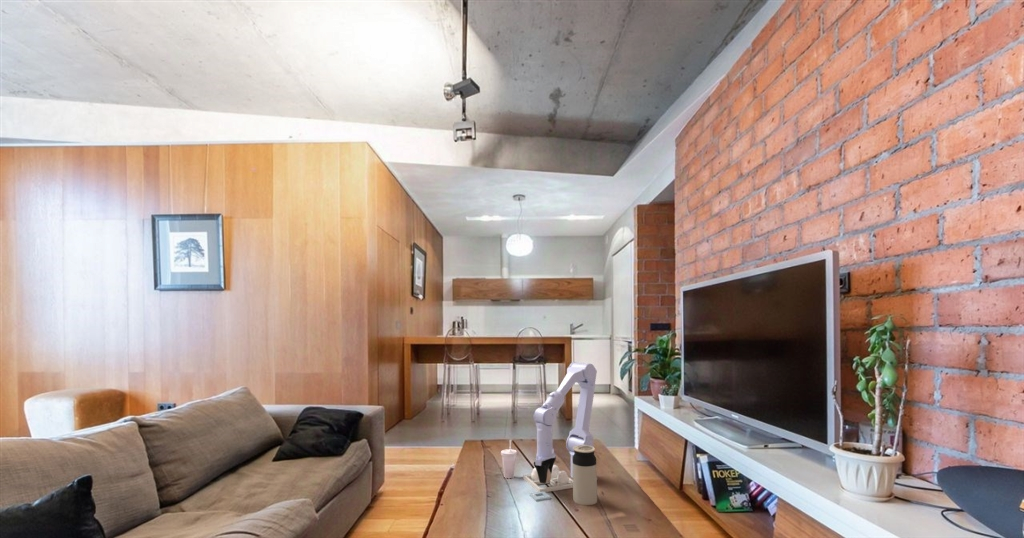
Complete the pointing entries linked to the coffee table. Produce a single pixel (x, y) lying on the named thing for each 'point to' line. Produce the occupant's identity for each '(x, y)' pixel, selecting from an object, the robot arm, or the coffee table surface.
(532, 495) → the egg cup
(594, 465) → the travel mug
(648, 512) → the coffee table surface
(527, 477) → the carton
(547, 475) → the brown egg
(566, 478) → the white eggs
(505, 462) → the smoothie
